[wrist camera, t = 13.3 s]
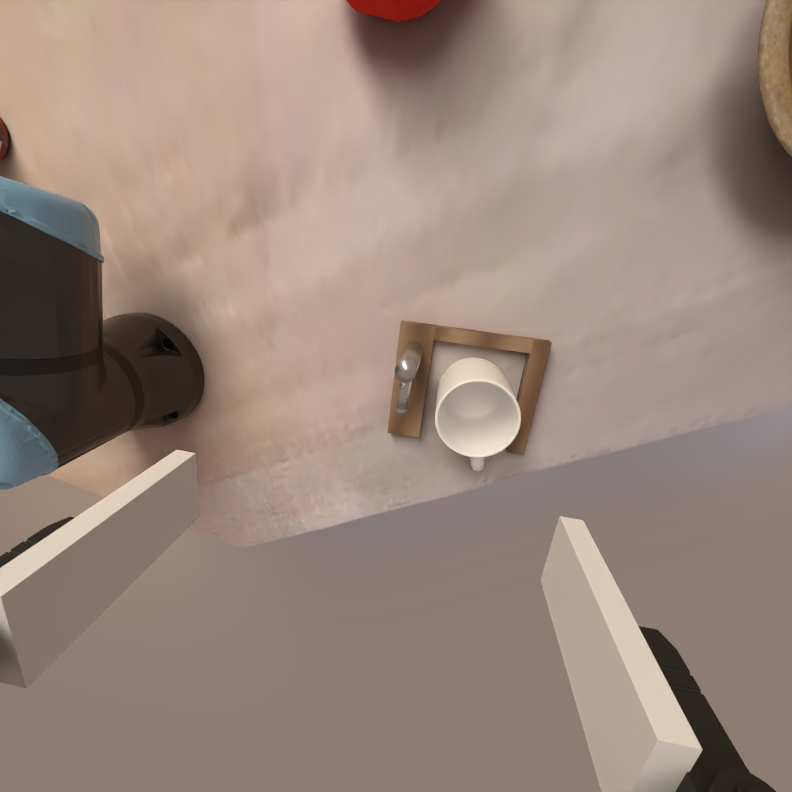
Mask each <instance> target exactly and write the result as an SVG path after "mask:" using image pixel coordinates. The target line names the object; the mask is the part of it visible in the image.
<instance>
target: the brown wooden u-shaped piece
mask: <svg viewBox="0 0 792 792" xmlns="http://www.w3.org/2000/svg"><path fill="white" fill-rule="evenodd" d="M434 340H437V341H445V342H452V343H459V344H466V345H473V346H481V347H488V348H495V349H502V350H509V351H516V352H524V353H527V357H526V361H525V365H524V370H523V374H522V378H521V383H520V387H519V391H518V395H517V402H518V404H519V407H520V411H521V424H520V428H519V431H518V434H517V435H516V437H515V439H514V440H513V441H512V443H511V444H510V445H509V446H508V447H506V450H507V452H510V453H516V454H523V455H524V451H525V447H526V443H527V439H528V435H529V431H530V427H531V423H532V419H533V415H534V411H535V407H536V403H537V399H538V395H539V391H540V387H541V384H542V380H543V376H544V372H545V368H546V364H547V360H548V356H549V352H550V348H551V344H552V343H551V342H550V341H549V340H542V339H534V338H527V337H520V336H512V335H505V334H498V333H490V332H483V331H475V330H468V329H461V328H453V327H446V326H439V325H431V324H424V323H417V322H409V321H402V322H401V326H400V334H399V343H398V351H397V360H396V366H397V364H398V362H399V361H400V359H401V357H402V355H403V353H404V351H405V349H406V347H407V346H408V344H409V343H411V342H418V343H420V344H421V345H422V347H423V354H422V357H421V360H420V364H419V367H418V370H417V373H416V376H415V378H414V379H413V380H412V382H411V389H410V397H409V404H408V410H407V412H405V413H403V414H401V413H398V412H397V410H396V402H397V394H398V386H399V380H398V379H397V377H396V375H395V376H394V385H393V393H392V402H391V410H390V418H389V427H388V433H393V434H399V435H405V436H411V437H417V438H419V435H420V429H421V422H422V416H423V409H424V402H425V395H426V389H427V382H428V375H429V369H430V362H431V355H432V348H433V342H434Z"/></svg>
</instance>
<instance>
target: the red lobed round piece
mask: <svg viewBox="0 0 792 792" xmlns="http://www.w3.org/2000/svg"><path fill="white" fill-rule="evenodd" d="M440 1H441V0H347V2H348V3H349V4H350V5H351V6H352V7H353V8H354V9H355V10H356V11H357V12H360V13H364V14H369V15H373V16H377V17H381V18H385V19H389V20H392V21H396V22H403V21H406V20H410V19H414V18H418V17H421V16H422V15H424V14H425V13H427V12H428V11H430V10H431V9H433V8H434V7H435V6H437V5H438V4H439V3H440Z"/></svg>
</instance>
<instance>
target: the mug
mask: <svg viewBox="0 0 792 792" xmlns="http://www.w3.org/2000/svg"><path fill="white" fill-rule="evenodd" d="M435 424H436V429H437V432H438V434H439V436H440V438H441V439H442V441H443V442H444V443H445V444H446V445H447V446H448V447H449V448H450V449H452V450H453V451H455V452H456V453H458V454H461V455H463V456H467V457H470V460H471V467H472V469H473V470H474V471H477V472H478V471H481V470H482V469H483V468H484V457H488V456H492V455H495V454H497V453H499V452H501V451H502V450H504V449H505V448H506V447H508V446H509V445H510V444H511V443H512V441H513V440H514V439H515V437H516V435H517V434H518V431H519V428H520V424H521V411H520V407H519V404H518V402H517V400H516V398H515V396H514V394H513V392H512V390H511V388H510V386H509V384H508V382H507V380H506V378H505V376H504V374H503V373H502V372H501V370H500V369H499V368H498V367H497V366H496V365H494V364H493V363H491V362H490V361H487V360H485V359H481V358H465V359H461V360H459V361H457V362H455V363H453V364H452V365H451V366H450V367H448V368H447V370H446V371H445V372H444V373H443V375H442V377H441V379H440V382H439V385H438V392H437V402H436V412H435Z"/></svg>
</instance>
